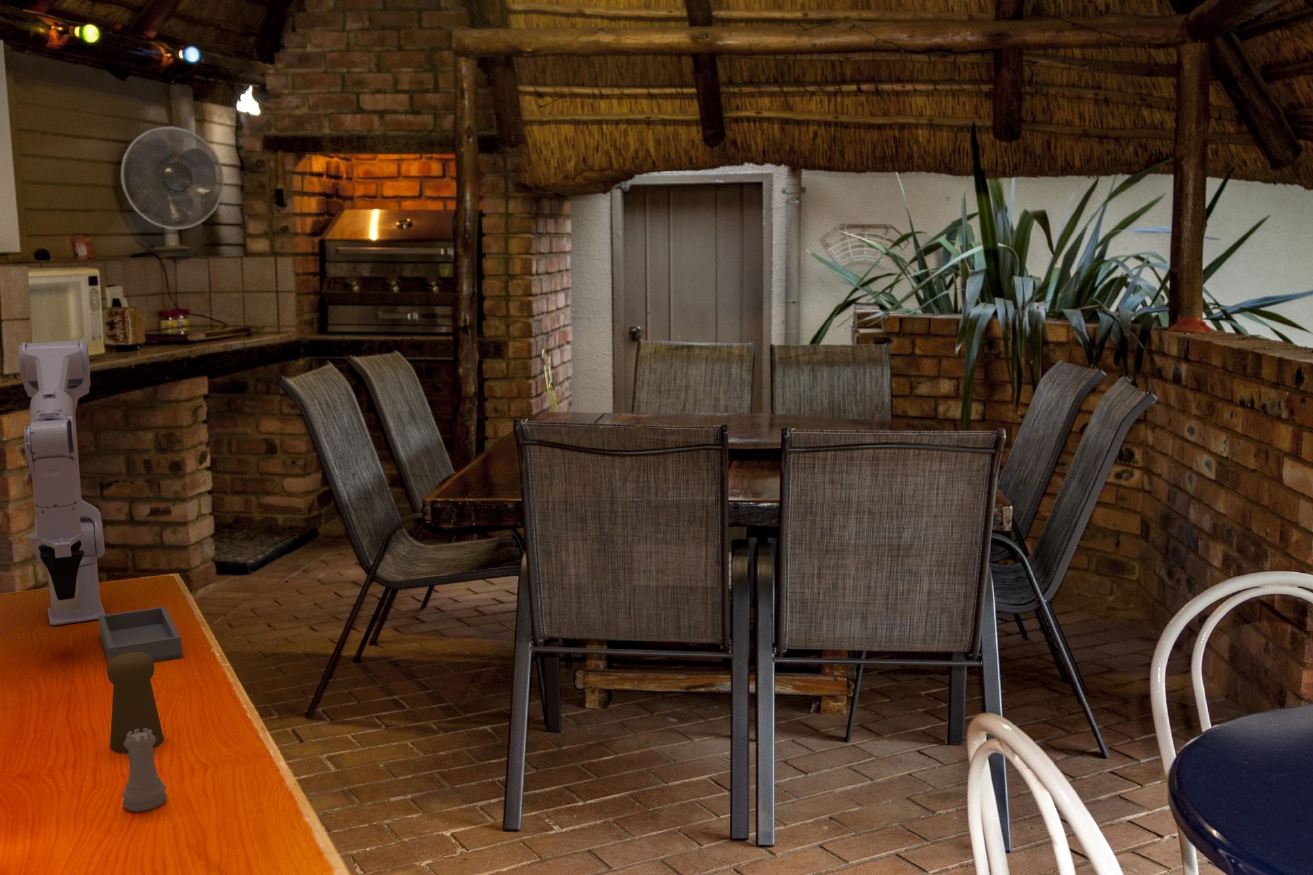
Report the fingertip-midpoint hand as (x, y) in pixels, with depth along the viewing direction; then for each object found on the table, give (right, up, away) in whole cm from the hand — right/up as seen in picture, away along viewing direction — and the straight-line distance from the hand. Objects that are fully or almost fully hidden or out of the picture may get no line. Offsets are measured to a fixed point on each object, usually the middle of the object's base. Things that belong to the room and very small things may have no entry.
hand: (65, 595), depth 181 cm
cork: (+23, -14, -31) cm, 41 cm away
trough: (+9, -8, +5) cm, 13 cm away
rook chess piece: (+31, -17, -47) cm, 59 cm away
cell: (0, -2, 0) cm, 2 cm away
